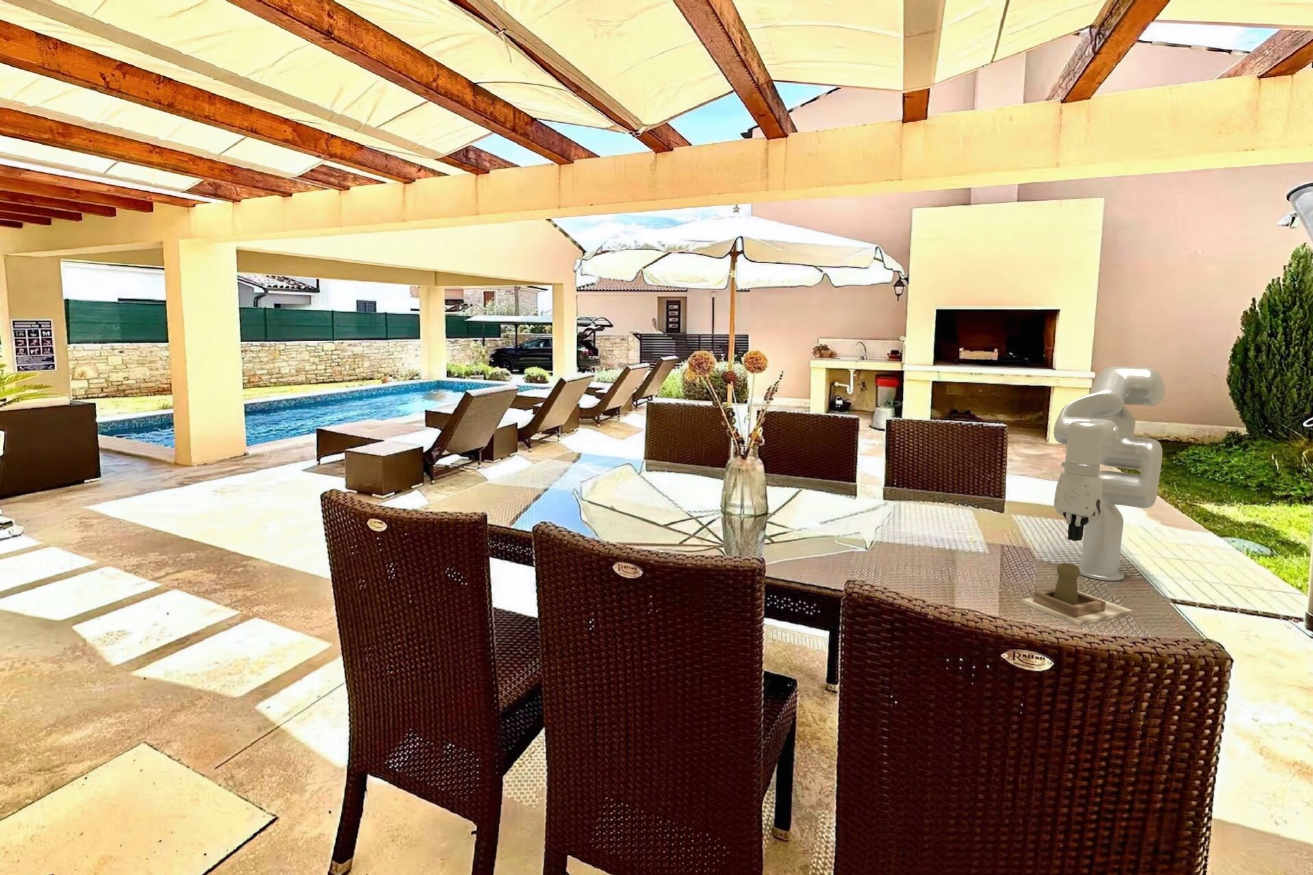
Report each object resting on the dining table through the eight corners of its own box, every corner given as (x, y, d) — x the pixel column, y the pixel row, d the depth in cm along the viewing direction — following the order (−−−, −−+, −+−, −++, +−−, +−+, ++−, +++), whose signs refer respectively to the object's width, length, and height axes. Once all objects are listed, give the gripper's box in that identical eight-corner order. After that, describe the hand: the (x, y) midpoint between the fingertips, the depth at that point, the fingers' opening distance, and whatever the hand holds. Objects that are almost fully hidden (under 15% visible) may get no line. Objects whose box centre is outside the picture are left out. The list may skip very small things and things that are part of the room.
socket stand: (1073, 592, 190) (1074, 580, 190) (1131, 614, 176) (1133, 601, 175) (1021, 602, 183) (1023, 590, 182) (1078, 625, 168) (1079, 612, 167)
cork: (1049, 605, 179) (1053, 564, 177) (1054, 598, 183) (1057, 559, 182) (1076, 611, 175) (1080, 569, 173) (1080, 604, 179) (1084, 563, 178)
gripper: (1044, 465, 178) (1038, 533, 181) (1100, 476, 164) (1093, 549, 167) (1064, 463, 181) (1058, 530, 183) (1121, 474, 167) (1113, 546, 170)
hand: (1074, 539), depth 175 cm, fingers closed
